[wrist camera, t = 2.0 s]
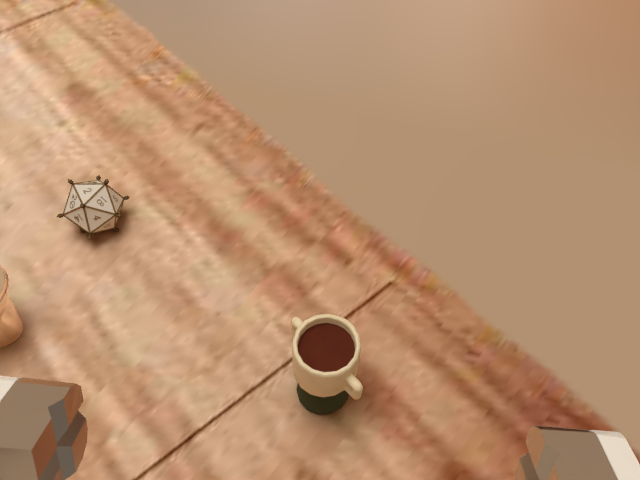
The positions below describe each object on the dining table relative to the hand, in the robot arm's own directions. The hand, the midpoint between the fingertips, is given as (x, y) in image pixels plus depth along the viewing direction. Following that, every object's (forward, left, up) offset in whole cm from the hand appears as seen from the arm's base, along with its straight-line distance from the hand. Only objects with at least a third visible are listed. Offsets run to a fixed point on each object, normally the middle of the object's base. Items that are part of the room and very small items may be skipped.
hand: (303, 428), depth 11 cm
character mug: (+15, +18, -58) cm, 62 cm away
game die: (+3, +56, -58) cm, 80 cm away
